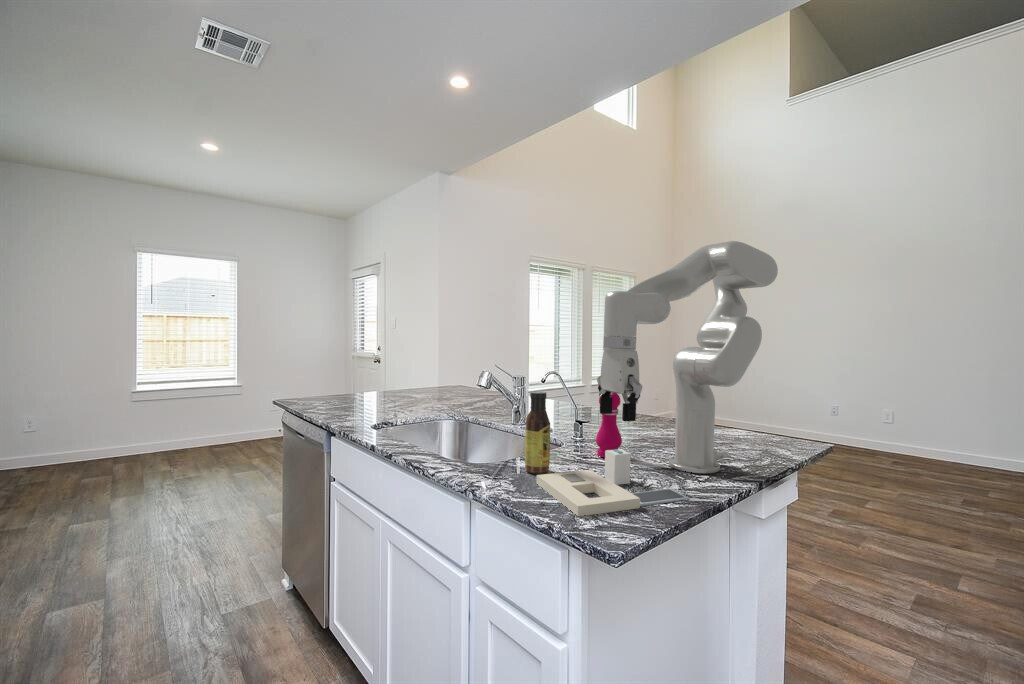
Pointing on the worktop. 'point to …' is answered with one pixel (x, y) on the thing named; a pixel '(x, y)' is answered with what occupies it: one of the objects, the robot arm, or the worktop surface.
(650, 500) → the plate
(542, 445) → the sauce bottle
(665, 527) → the worktop surface
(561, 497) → the outlet plate
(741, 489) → the worktop surface
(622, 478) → the plug
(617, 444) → the pepper mill
